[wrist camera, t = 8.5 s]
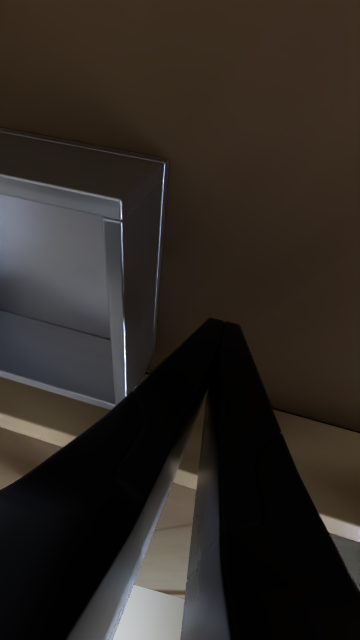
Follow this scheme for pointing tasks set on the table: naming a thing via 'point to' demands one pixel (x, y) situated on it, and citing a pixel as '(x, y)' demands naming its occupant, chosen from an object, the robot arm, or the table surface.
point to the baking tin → (79, 265)
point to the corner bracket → (300, 435)
